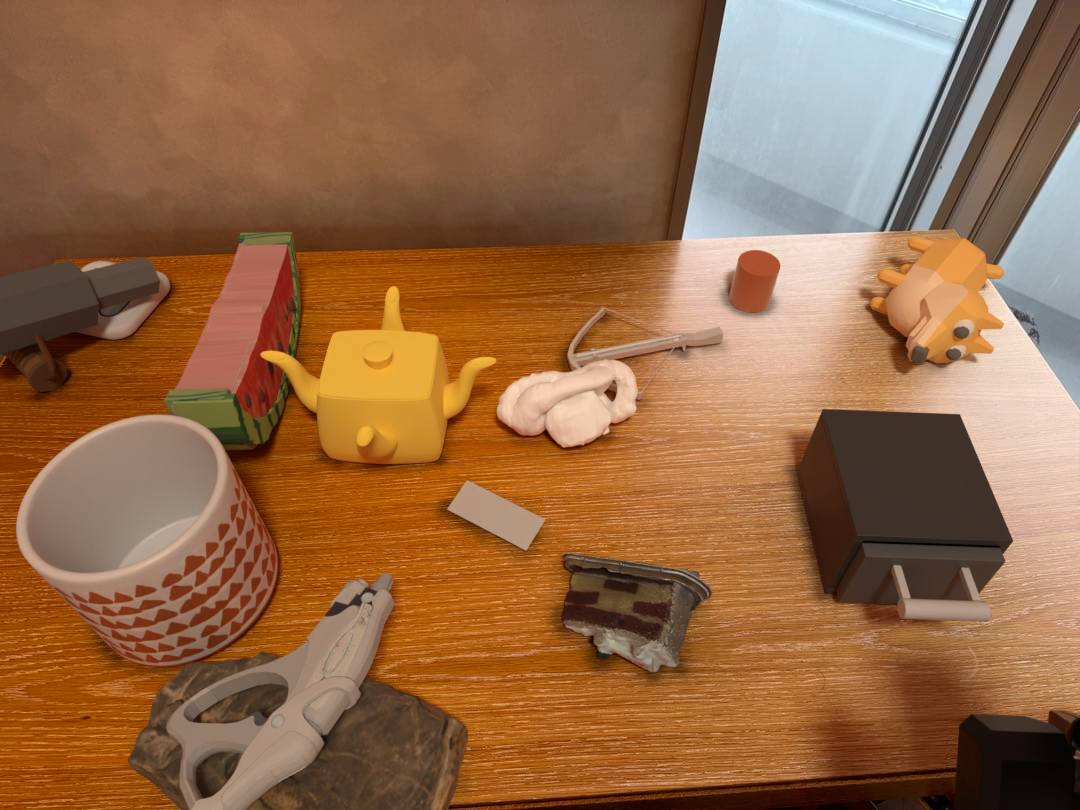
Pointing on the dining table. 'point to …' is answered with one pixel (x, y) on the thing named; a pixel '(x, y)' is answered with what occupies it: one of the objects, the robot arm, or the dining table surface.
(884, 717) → the dining table surface
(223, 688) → the gun
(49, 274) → the mechanical component
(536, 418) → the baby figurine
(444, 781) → the stone
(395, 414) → the teapot
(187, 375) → the fruit slice
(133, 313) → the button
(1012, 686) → the dining table surface
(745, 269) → the orange cylinder
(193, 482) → the vase
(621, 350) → the crossbow
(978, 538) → the dark brown hollow box
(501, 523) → the grey rectangular card
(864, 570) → the drawer
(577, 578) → the chocolate cake
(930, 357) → the dog
